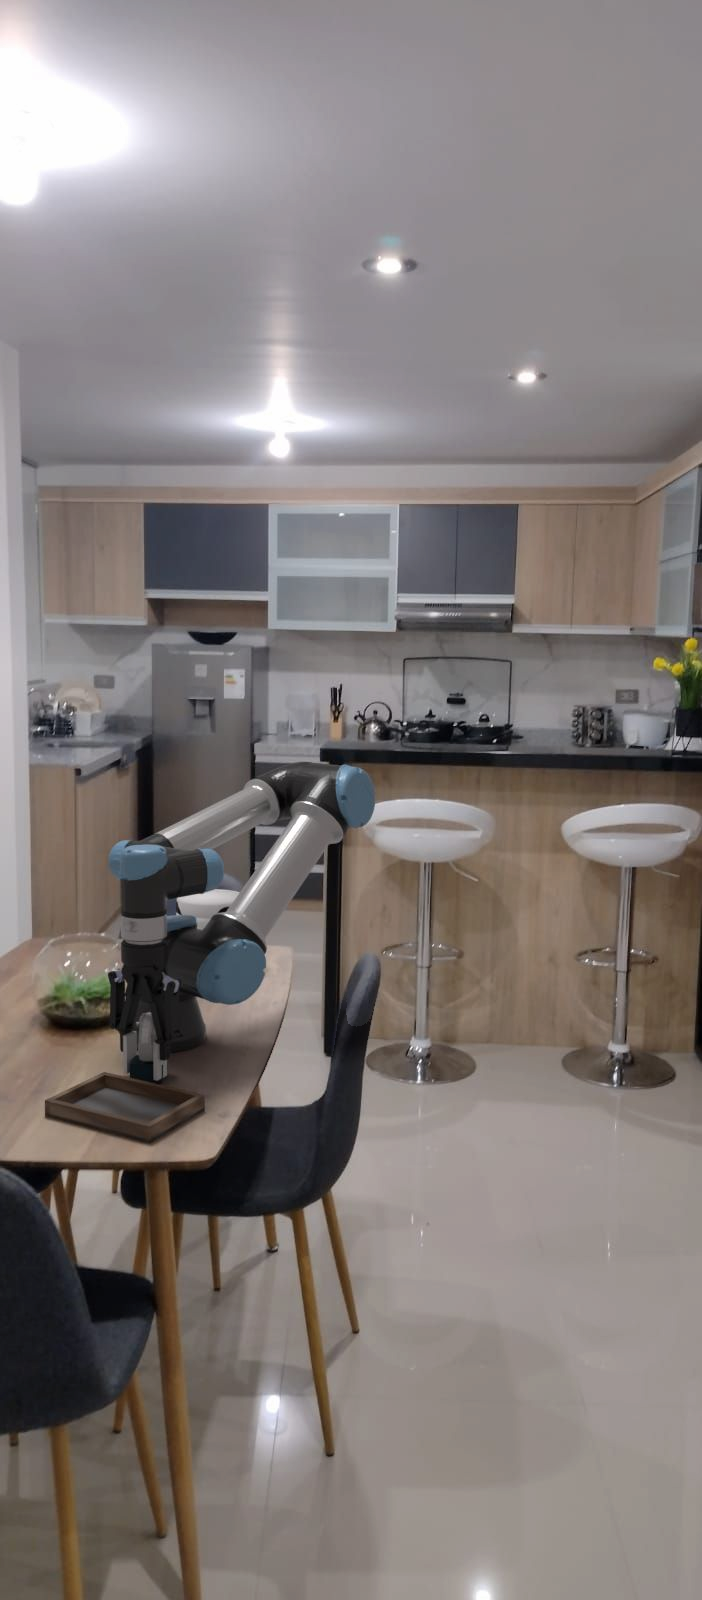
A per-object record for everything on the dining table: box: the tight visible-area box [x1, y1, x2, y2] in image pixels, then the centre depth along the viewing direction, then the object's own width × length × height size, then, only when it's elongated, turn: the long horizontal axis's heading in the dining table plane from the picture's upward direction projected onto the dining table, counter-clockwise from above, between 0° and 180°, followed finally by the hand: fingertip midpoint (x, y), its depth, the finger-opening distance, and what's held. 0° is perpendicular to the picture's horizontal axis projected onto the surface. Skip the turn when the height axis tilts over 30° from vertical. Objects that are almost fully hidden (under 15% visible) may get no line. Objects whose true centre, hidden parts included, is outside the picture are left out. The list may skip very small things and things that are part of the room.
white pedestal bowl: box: [175, 888, 241, 930], centre depth 253 cm, size 17×17×18 cm
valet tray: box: [44, 1071, 206, 1144], centre depth 175 cm, size 14×20×3 cm
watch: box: [129, 1012, 169, 1084], centre depth 189 cm, size 6×8×11 cm
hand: (145, 1073), depth 188 cm, fingers closed on watch, 5 cm apart
